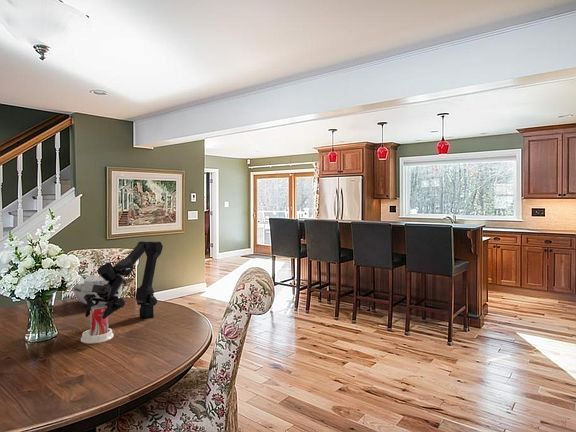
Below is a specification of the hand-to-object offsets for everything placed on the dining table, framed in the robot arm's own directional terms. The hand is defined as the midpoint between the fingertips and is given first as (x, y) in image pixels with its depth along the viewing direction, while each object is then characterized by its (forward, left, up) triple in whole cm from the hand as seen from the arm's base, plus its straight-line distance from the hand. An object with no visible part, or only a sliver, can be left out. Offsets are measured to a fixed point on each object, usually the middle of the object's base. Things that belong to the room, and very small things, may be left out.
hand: (94, 317), depth 175 cm
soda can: (-1, -2, -9) cm, 9 cm away
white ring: (-1, -1, -10) cm, 10 cm away
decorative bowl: (+10, -64, -10) cm, 66 cm away
